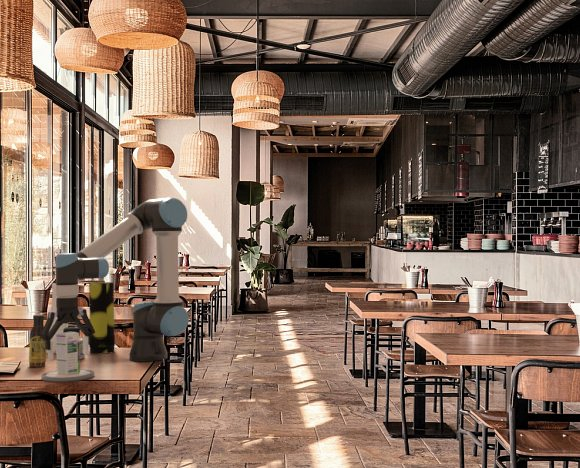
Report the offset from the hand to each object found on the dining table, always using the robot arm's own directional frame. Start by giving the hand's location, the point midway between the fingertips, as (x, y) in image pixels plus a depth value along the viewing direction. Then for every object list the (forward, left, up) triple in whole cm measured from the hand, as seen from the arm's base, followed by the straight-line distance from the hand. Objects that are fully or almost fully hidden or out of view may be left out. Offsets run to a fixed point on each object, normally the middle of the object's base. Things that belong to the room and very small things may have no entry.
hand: (68, 356), depth 270 cm
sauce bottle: (+19, -25, -7) cm, 32 cm away
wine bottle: (+23, -62, -7) cm, 66 cm away
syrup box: (0, 0, -6) cm, 6 cm away
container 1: (+11, -43, -7) cm, 45 cm away
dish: (0, 0, -7) cm, 7 cm away
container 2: (+3, -61, -7) cm, 61 cm away
